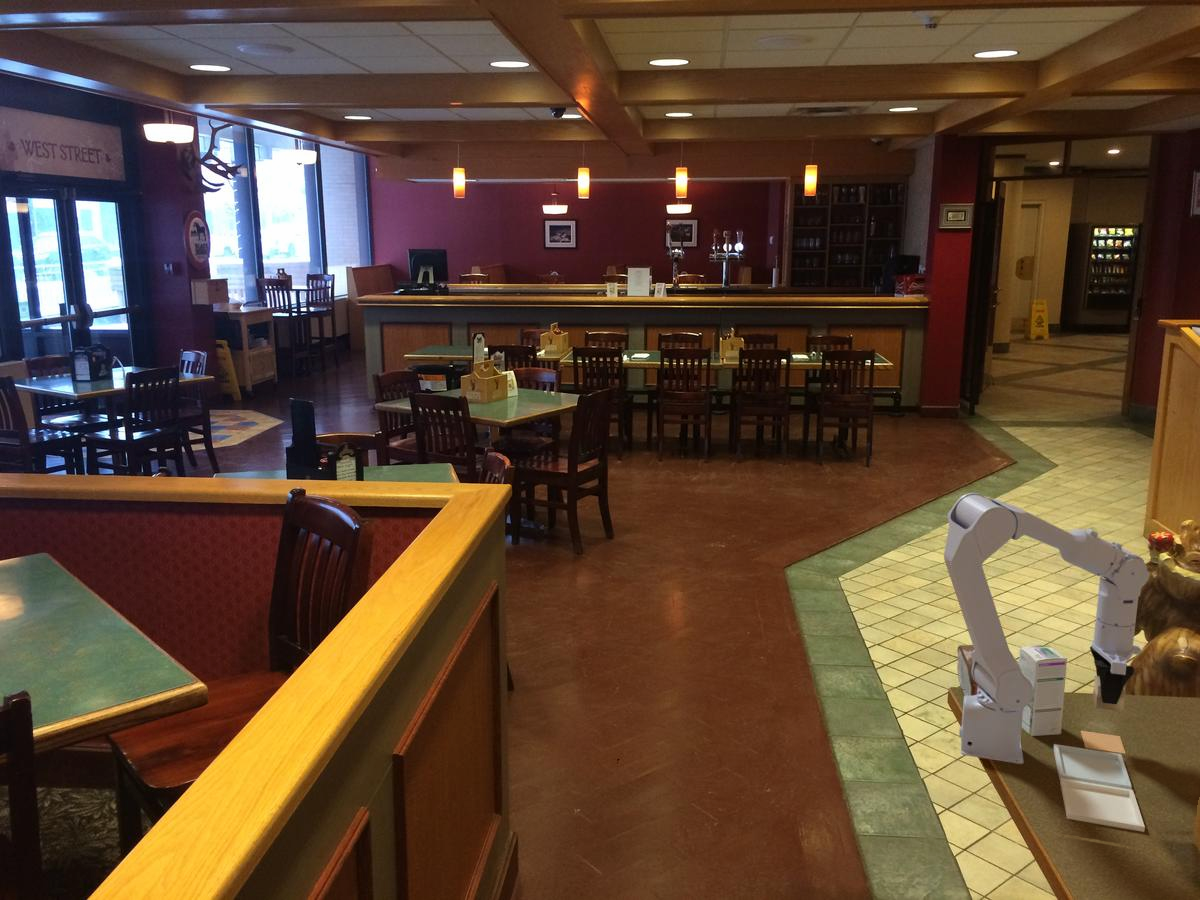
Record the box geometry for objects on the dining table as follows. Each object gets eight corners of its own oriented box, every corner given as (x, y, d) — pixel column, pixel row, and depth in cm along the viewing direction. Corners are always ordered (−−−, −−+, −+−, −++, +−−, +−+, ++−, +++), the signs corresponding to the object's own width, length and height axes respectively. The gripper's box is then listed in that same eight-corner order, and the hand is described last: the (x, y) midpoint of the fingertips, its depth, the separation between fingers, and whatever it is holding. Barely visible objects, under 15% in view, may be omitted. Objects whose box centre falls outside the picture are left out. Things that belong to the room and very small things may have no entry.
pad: (1084, 749, 158) (1085, 747, 158) (1080, 732, 163) (1080, 730, 163) (1125, 755, 156) (1125, 753, 156) (1119, 738, 161) (1119, 736, 161)
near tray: (1066, 820, 138) (1067, 813, 138) (1059, 785, 148) (1060, 778, 147) (1143, 834, 135) (1144, 826, 135) (1132, 796, 144) (1132, 789, 144)
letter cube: (1095, 708, 156) (1098, 685, 155) (1092, 697, 160) (1095, 675, 159) (1123, 711, 155) (1125, 688, 154) (1119, 700, 158) (1121, 678, 158)
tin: (985, 714, 170) (988, 671, 168) (966, 713, 171) (970, 670, 169) (970, 678, 185) (973, 638, 183) (953, 677, 185) (956, 636, 183)
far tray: (1059, 781, 148) (1059, 774, 148) (1053, 750, 158) (1053, 743, 157) (1130, 793, 145) (1131, 786, 145) (1120, 760, 154) (1121, 754, 154)
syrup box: (1062, 736, 162) (1069, 657, 159) (1029, 738, 162) (1036, 659, 159) (1043, 720, 168) (1050, 644, 165) (1012, 722, 167) (1018, 645, 164)
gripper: (1151, 640, 146) (1142, 720, 149) (1135, 607, 159) (1127, 681, 162) (1100, 634, 149) (1092, 713, 152) (1089, 602, 162) (1082, 675, 165)
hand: (1107, 696), depth 157 cm, fingers closed on letter cube, 4 cm apart
